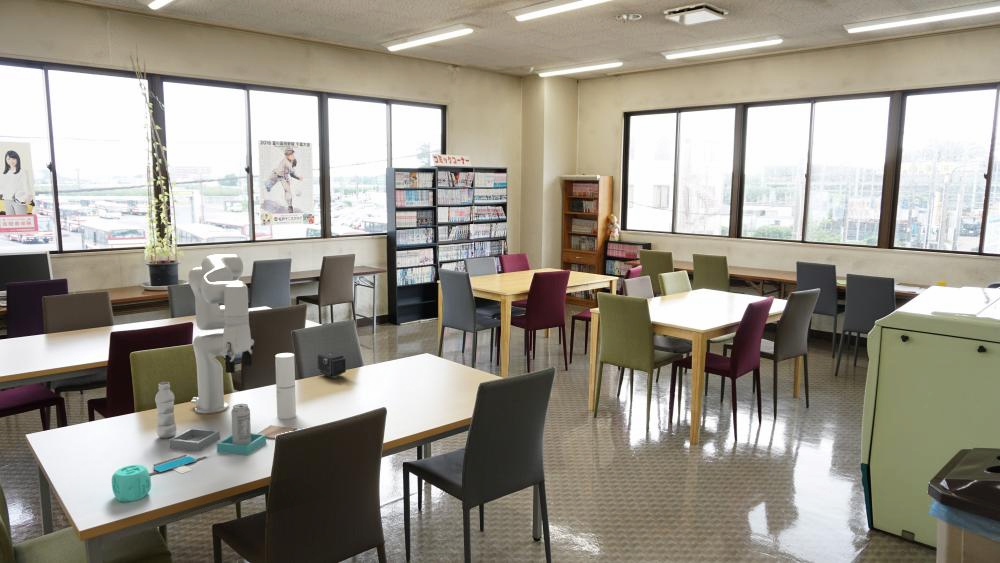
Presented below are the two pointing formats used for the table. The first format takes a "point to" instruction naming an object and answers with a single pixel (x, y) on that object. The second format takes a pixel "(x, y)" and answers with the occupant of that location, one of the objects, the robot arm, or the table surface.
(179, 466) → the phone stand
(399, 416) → the table surface
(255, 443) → the teal flat square frame
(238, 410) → the energy drink can
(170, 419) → the plastic bottle
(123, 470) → the decorative dice
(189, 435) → the grey crate
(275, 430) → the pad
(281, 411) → the cylindrical container
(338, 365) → the camera
